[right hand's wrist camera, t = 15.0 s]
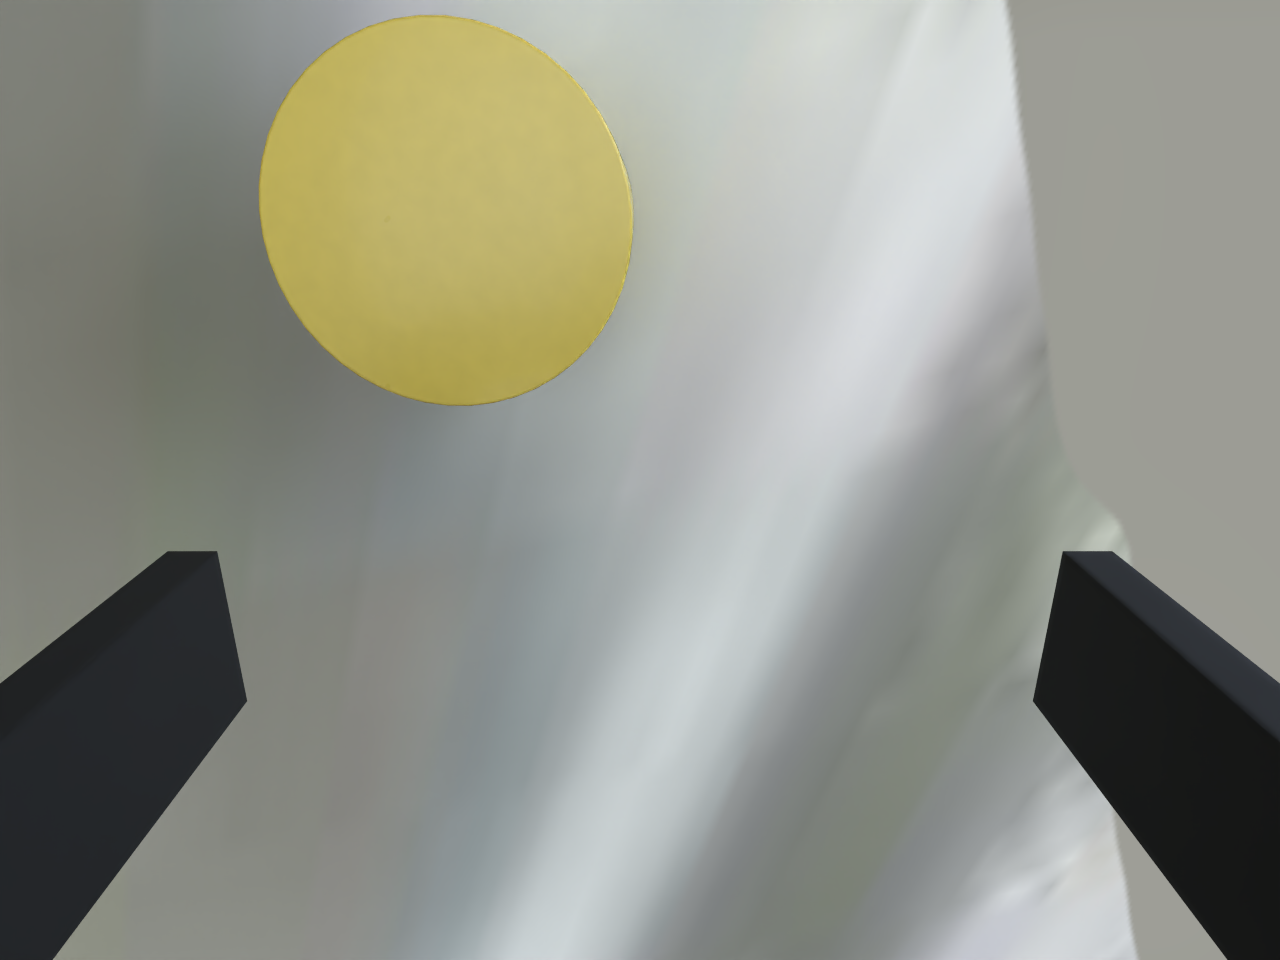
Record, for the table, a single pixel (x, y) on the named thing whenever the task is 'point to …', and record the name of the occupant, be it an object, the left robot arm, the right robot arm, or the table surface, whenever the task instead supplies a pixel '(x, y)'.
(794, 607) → the table surface
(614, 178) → the canister
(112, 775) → the right robot arm
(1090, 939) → the table surface
